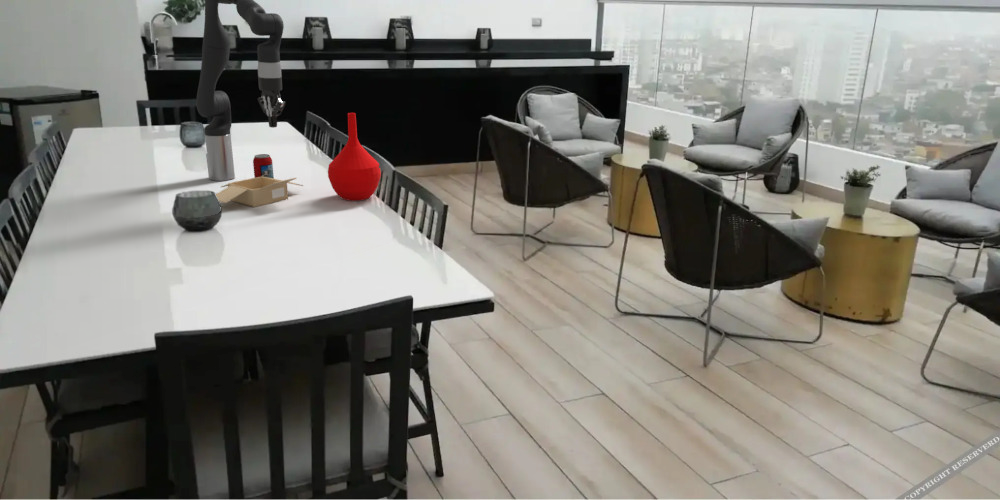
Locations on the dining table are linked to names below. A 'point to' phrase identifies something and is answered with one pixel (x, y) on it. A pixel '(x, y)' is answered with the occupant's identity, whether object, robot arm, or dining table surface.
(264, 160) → the beverage can
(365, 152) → the vase
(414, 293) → the dining table surface
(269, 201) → the carton
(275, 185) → the front flap
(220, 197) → the right flap
